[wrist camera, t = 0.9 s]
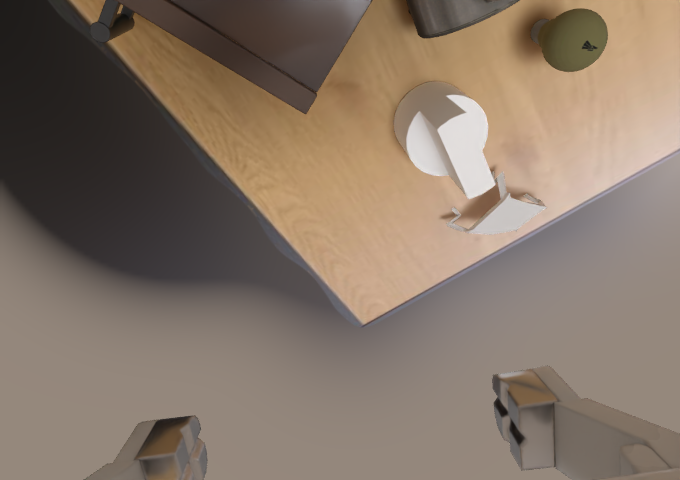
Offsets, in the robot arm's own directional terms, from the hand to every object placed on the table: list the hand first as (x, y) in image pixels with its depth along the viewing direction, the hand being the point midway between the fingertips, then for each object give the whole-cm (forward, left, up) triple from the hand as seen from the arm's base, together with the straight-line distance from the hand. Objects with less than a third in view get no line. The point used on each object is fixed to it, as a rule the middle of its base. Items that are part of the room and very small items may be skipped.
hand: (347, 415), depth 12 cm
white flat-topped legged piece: (+30, -1, -43) cm, 53 cm away
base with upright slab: (+17, +4, -43) cm, 47 cm away
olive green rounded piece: (+21, +18, -43) cm, 51 cm away
